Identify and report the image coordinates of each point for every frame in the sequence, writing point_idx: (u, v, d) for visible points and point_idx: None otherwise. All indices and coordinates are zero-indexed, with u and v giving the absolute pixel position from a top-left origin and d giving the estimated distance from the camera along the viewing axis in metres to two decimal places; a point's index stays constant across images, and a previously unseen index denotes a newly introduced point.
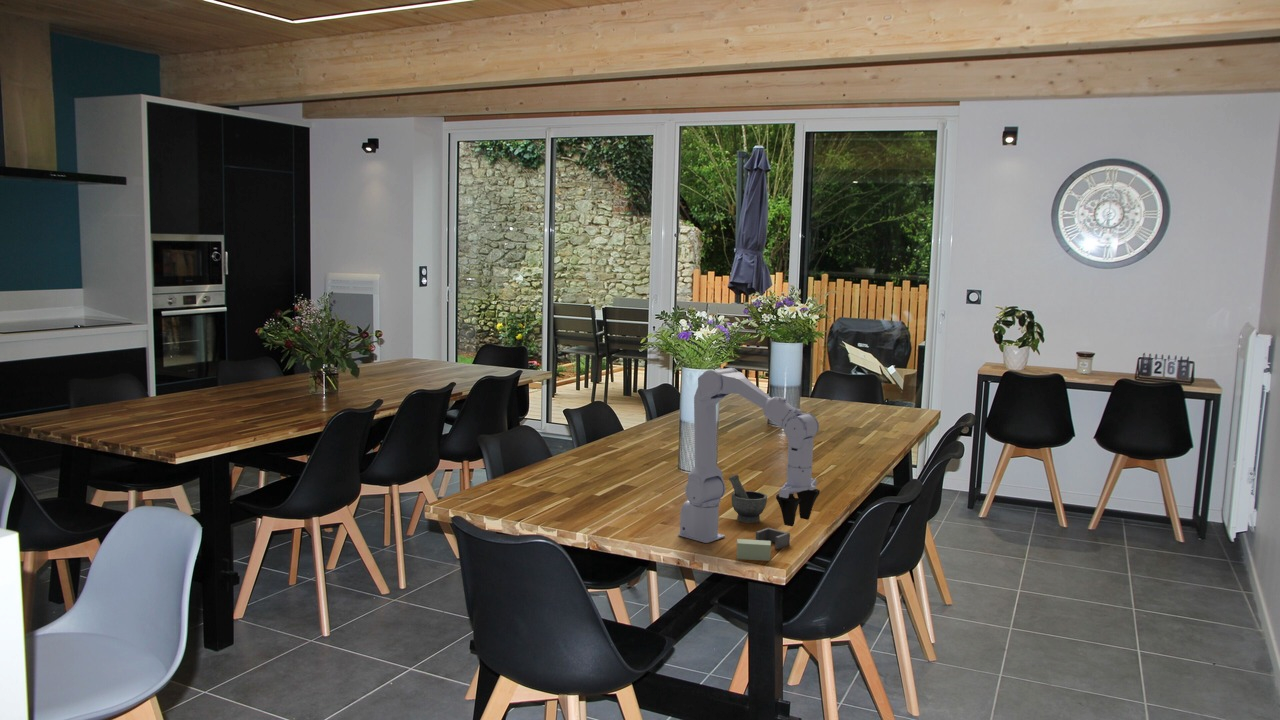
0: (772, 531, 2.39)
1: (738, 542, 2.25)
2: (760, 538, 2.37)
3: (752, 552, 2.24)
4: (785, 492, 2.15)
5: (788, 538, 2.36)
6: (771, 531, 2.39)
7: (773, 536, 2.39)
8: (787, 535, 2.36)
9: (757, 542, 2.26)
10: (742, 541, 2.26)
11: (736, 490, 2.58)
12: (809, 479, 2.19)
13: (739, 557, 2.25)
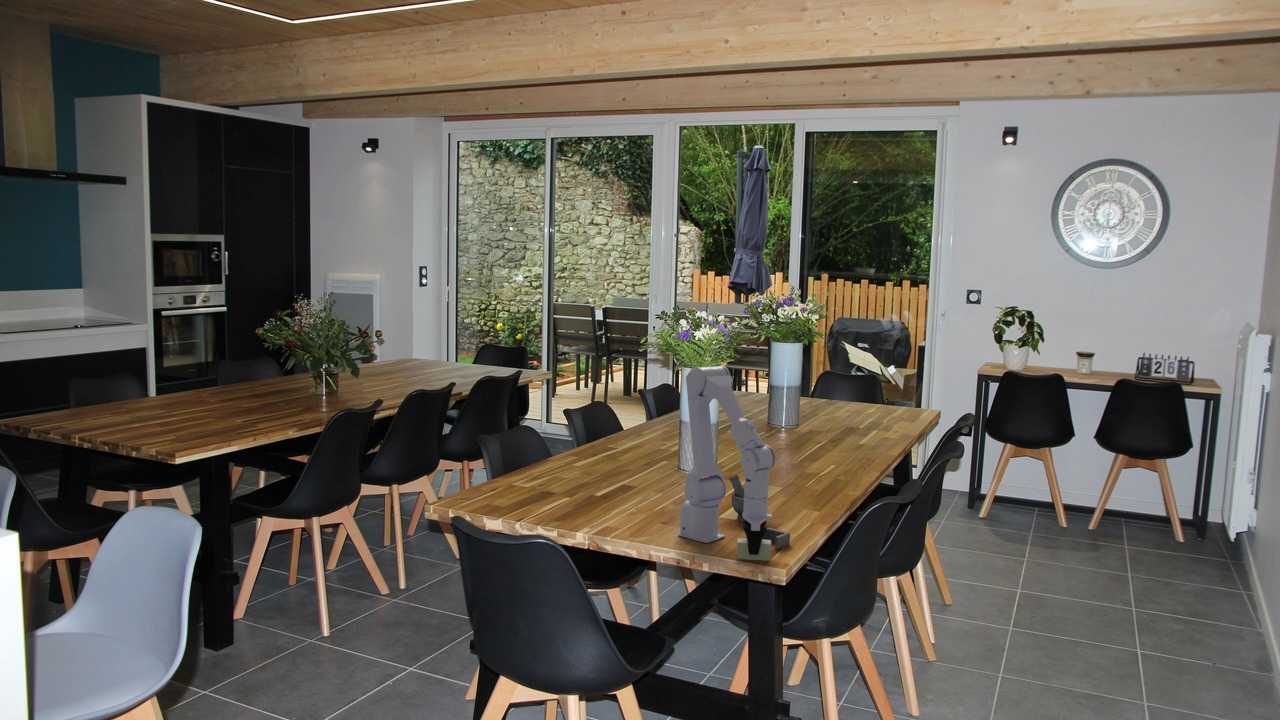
0: (772, 531, 2.39)
1: (738, 541, 2.25)
2: None
3: None
4: (758, 525, 2.18)
5: (788, 538, 2.36)
6: (771, 531, 2.39)
7: (773, 536, 2.39)
8: (787, 535, 2.36)
9: None
10: (742, 540, 2.26)
11: (736, 490, 2.58)
12: (767, 508, 2.24)
13: (739, 556, 2.25)
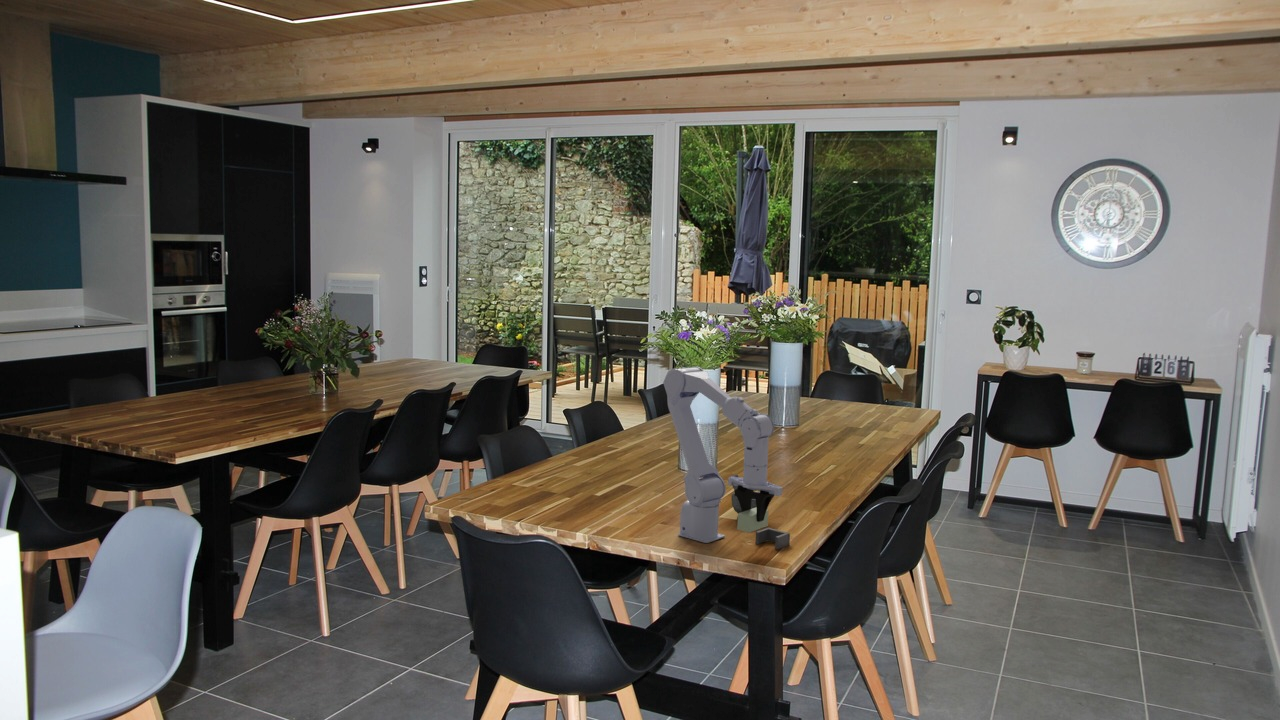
0: (772, 531, 2.39)
1: None
2: (760, 538, 2.37)
3: None
4: None
5: (788, 538, 2.36)
6: (771, 531, 2.39)
7: (773, 536, 2.39)
8: (787, 535, 2.36)
9: (751, 512, 2.28)
10: None
11: None
12: (747, 477, 2.26)
13: None
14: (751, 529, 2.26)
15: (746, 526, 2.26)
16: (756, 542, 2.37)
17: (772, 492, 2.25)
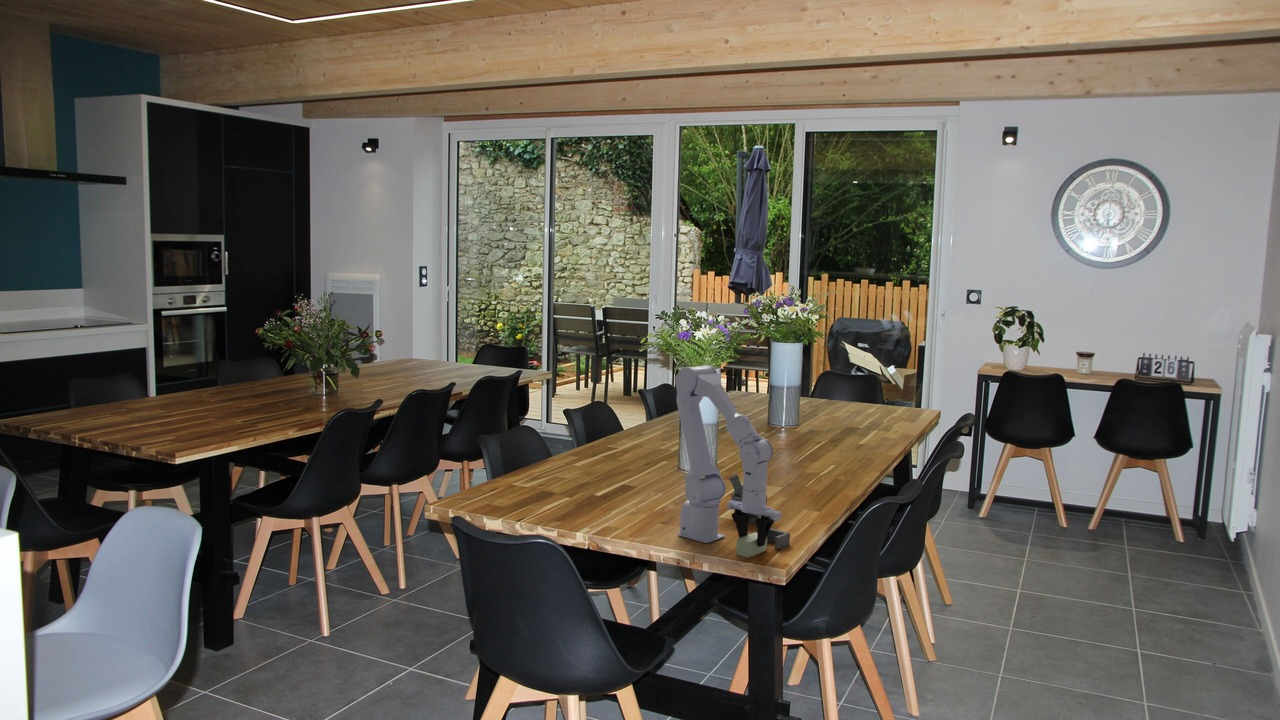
0: (772, 531, 2.39)
1: None
2: None
3: None
4: None
5: (788, 538, 2.36)
6: (771, 531, 2.39)
7: (773, 536, 2.39)
8: (787, 535, 2.36)
9: (750, 538, 2.29)
10: None
11: (736, 490, 2.58)
12: (746, 502, 2.27)
13: None
14: (749, 555, 2.26)
15: (745, 552, 2.26)
16: None
17: (771, 517, 2.25)
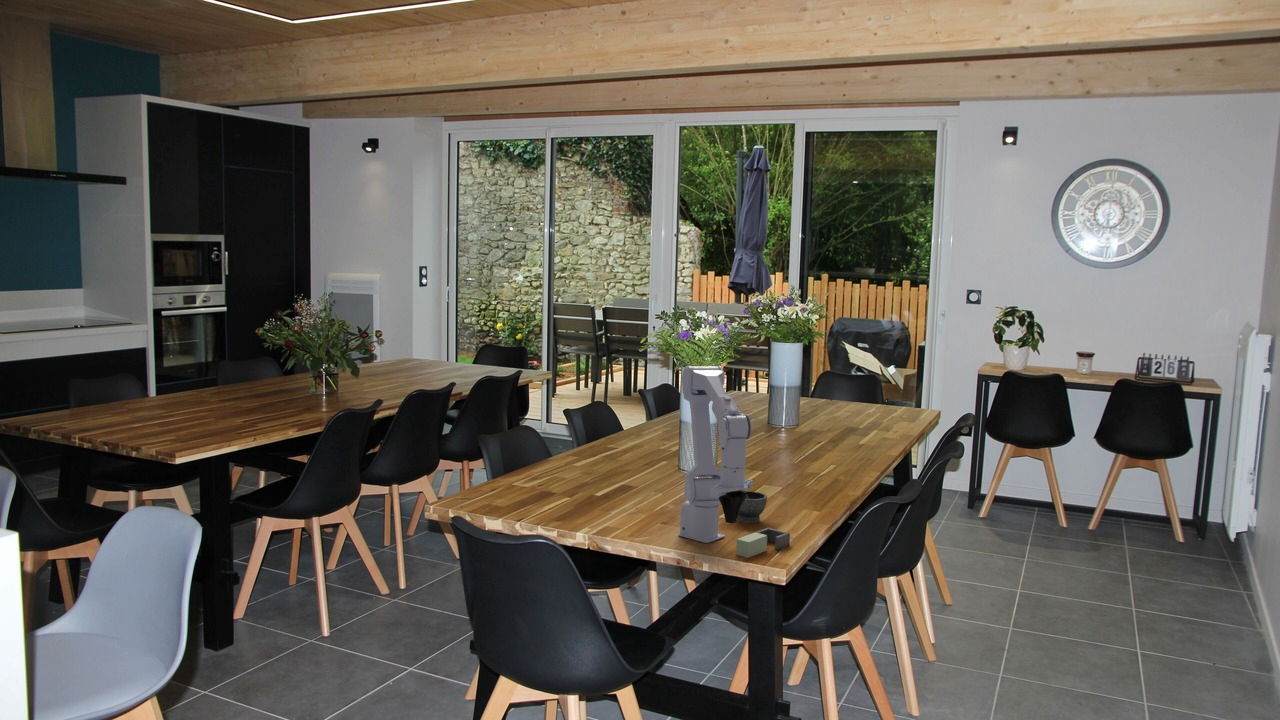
0: (772, 531, 2.39)
1: (757, 533, 2.33)
2: None
3: None
4: (716, 492, 2.15)
5: (788, 538, 2.36)
6: (771, 531, 2.39)
7: (773, 536, 2.39)
8: (787, 535, 2.36)
9: (750, 538, 2.29)
10: (757, 534, 2.32)
11: None
12: (741, 479, 2.19)
13: None
14: (749, 555, 2.26)
15: (745, 552, 2.26)
16: None
17: None
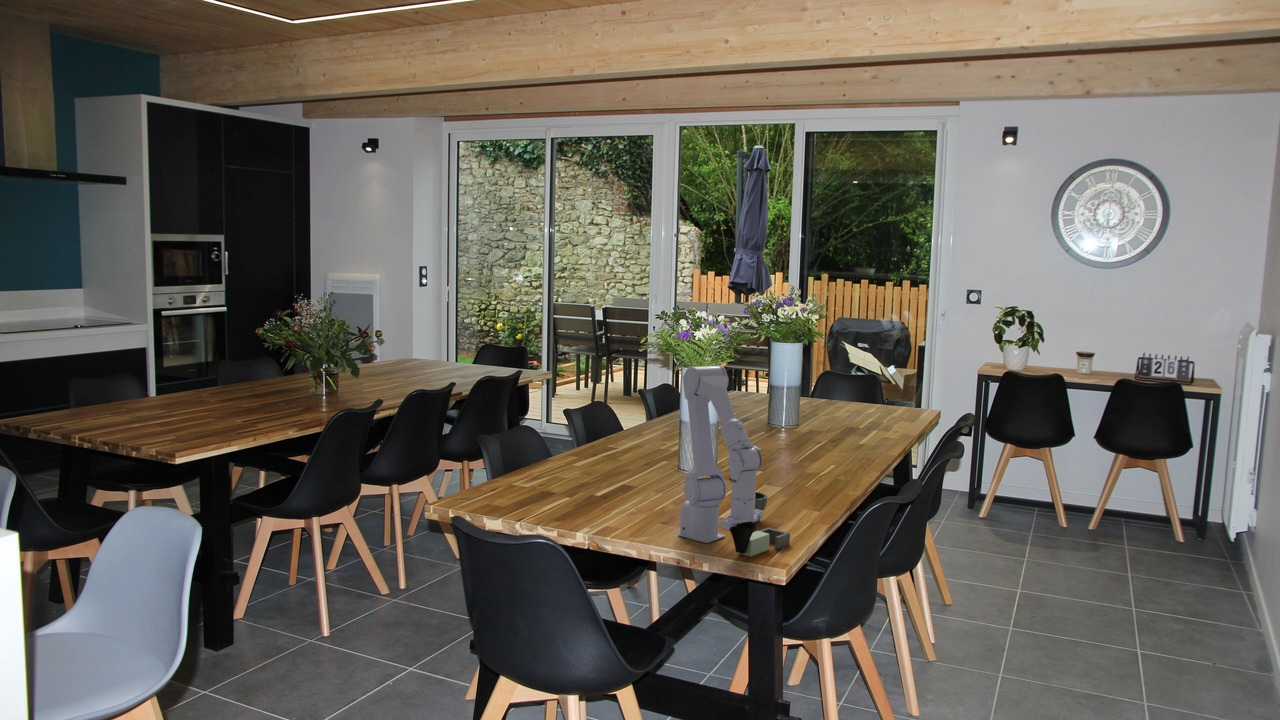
0: (772, 531, 2.39)
1: (759, 531, 2.34)
2: None
3: None
4: (726, 524, 2.20)
5: (788, 538, 2.36)
6: (771, 531, 2.39)
7: (773, 536, 2.39)
8: (787, 535, 2.36)
9: (752, 536, 2.30)
10: (760, 533, 2.32)
11: None
12: (752, 511, 2.23)
13: None
14: (751, 553, 2.27)
15: (747, 550, 2.27)
16: None
17: None
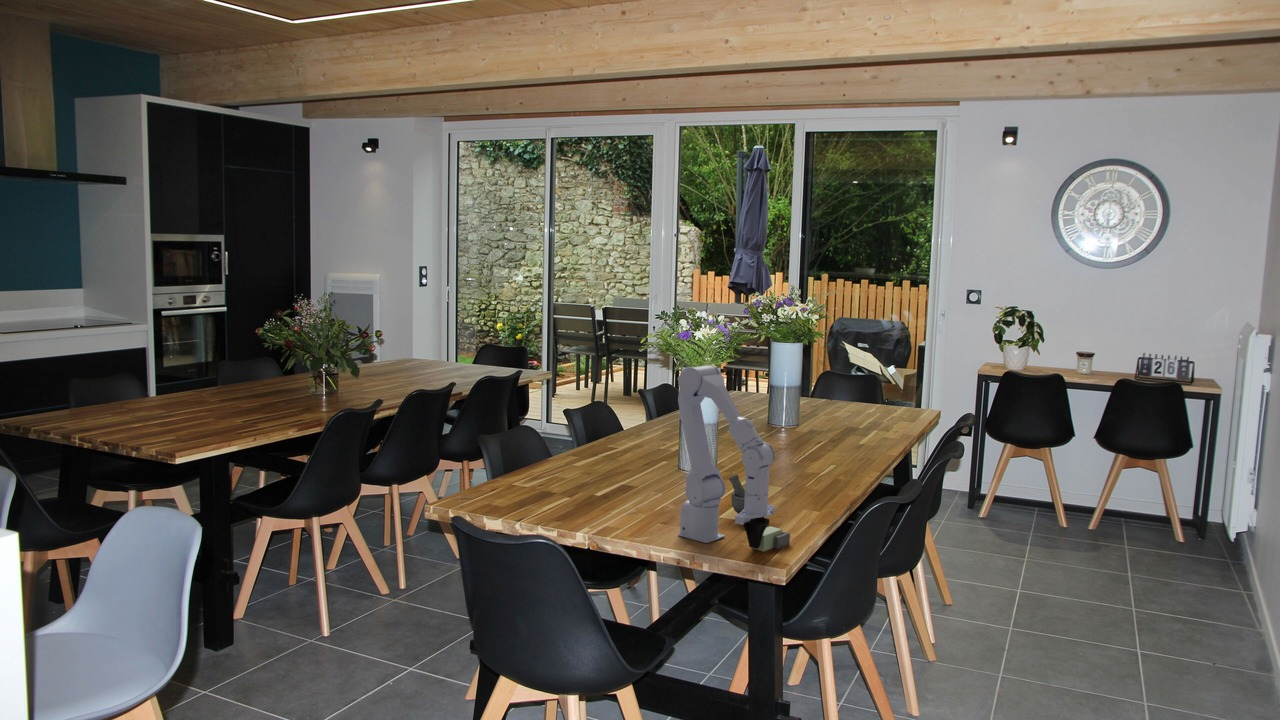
0: None
1: (771, 527, 2.38)
2: None
3: None
4: (740, 519, 2.24)
5: (788, 538, 2.36)
6: None
7: None
8: (787, 535, 2.36)
9: (765, 531, 2.34)
10: (772, 528, 2.37)
11: (736, 490, 2.58)
12: (765, 506, 2.28)
13: None
14: (765, 548, 2.31)
15: (761, 545, 2.31)
16: None
17: None
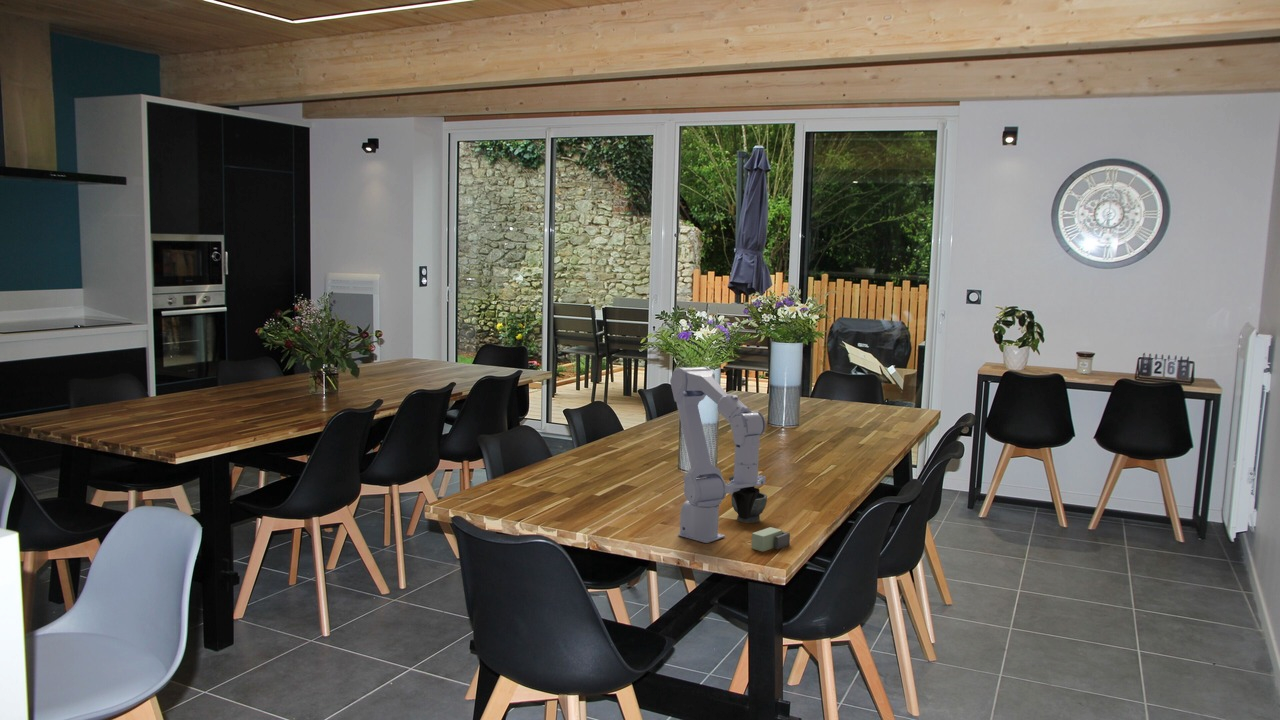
0: None
1: (772, 528, 2.38)
2: None
3: None
4: (730, 488, 2.19)
5: (788, 538, 2.36)
6: None
7: None
8: (787, 535, 2.36)
9: (765, 532, 2.34)
10: (773, 529, 2.37)
11: None
12: (755, 476, 2.23)
13: None
14: (764, 549, 2.31)
15: (760, 546, 2.31)
16: None
17: None
